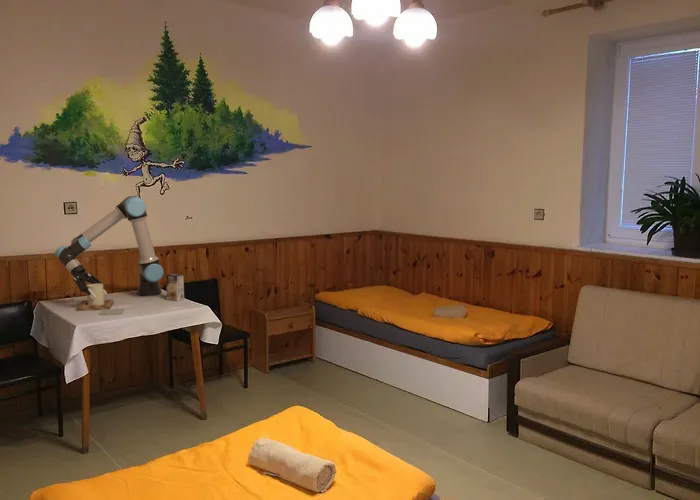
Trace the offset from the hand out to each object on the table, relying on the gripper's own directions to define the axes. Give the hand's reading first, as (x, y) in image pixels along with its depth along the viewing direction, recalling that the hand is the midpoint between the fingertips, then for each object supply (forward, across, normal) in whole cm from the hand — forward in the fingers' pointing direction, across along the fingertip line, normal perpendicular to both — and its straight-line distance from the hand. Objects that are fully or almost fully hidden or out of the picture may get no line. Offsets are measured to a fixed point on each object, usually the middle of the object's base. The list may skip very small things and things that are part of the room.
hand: (100, 296), depth 359 cm
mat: (+15, +8, +6) cm, 18 cm away
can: (+1, 0, -6) cm, 6 cm away
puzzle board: (+2, 0, -7) cm, 7 cm away
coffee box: (+25, -33, +16) cm, 44 cm away
